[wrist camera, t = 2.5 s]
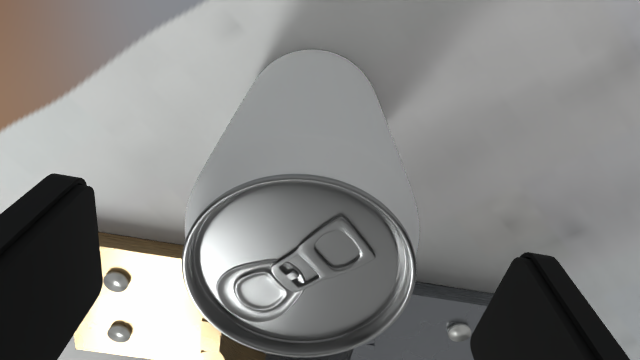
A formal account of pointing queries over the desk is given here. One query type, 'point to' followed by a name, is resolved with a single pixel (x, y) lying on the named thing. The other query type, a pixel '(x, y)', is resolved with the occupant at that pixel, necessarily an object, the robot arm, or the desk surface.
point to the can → (303, 215)
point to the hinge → (226, 354)
